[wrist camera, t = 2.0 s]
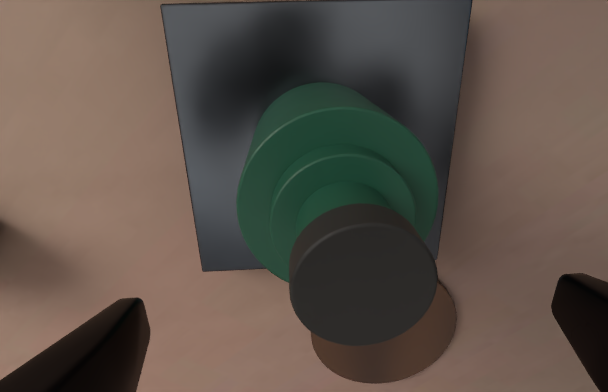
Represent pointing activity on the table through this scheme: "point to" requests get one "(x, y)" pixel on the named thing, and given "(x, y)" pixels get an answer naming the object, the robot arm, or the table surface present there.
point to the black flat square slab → (299, 71)
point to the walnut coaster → (395, 347)
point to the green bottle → (341, 213)
